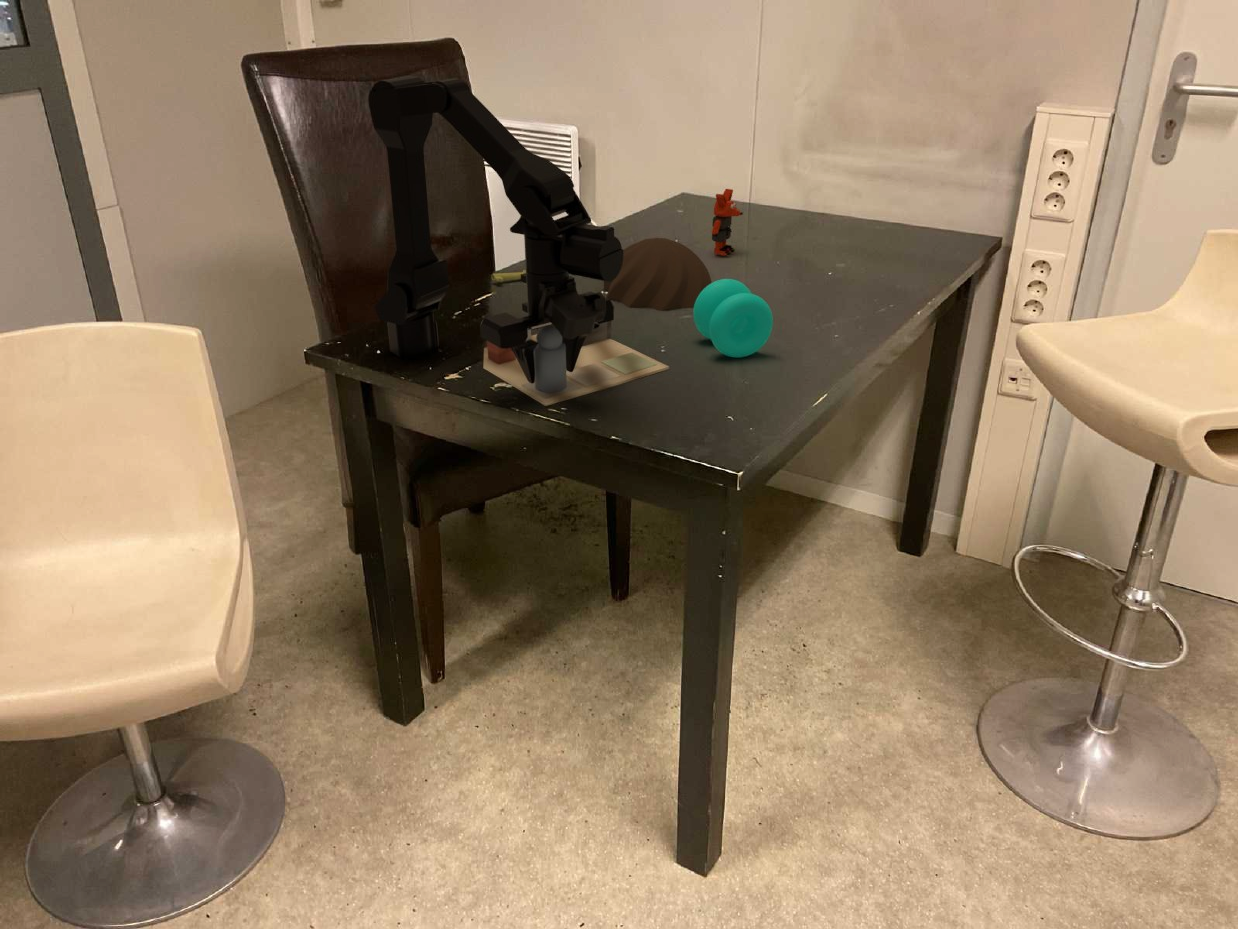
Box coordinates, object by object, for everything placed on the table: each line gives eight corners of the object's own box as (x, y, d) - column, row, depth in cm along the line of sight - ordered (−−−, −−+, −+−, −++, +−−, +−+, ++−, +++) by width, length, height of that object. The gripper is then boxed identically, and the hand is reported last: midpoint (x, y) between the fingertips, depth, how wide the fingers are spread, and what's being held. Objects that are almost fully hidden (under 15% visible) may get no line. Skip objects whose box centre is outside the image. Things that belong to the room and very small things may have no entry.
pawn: (546, 395, 139) (544, 333, 134) (529, 384, 142) (526, 324, 138) (572, 387, 141) (571, 327, 137) (555, 377, 144) (553, 318, 140)
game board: (545, 407, 136) (544, 383, 135) (460, 356, 152) (458, 335, 151) (669, 368, 148) (670, 346, 147) (579, 325, 164) (578, 304, 163)
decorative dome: (699, 315, 169) (702, 257, 165) (588, 304, 174) (587, 247, 170) (722, 281, 186) (725, 227, 181) (619, 272, 191) (620, 219, 186)
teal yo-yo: (712, 363, 150) (715, 299, 146) (689, 340, 159) (691, 279, 154) (773, 356, 153) (778, 293, 148) (747, 334, 161) (751, 273, 156)
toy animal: (732, 259, 197) (736, 198, 191) (707, 256, 199) (709, 195, 193) (747, 249, 203) (750, 189, 197) (722, 246, 205) (725, 186, 200)
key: (488, 285, 182) (488, 274, 181) (538, 270, 190) (537, 259, 189) (515, 294, 178) (515, 282, 177) (564, 279, 186) (564, 267, 185)
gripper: (520, 298, 123) (526, 413, 130) (639, 270, 133) (638, 378, 140) (474, 276, 131) (482, 386, 138) (590, 251, 141) (591, 355, 148)
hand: (550, 376), depth 141 cm, fingers open, 6 cm apart
